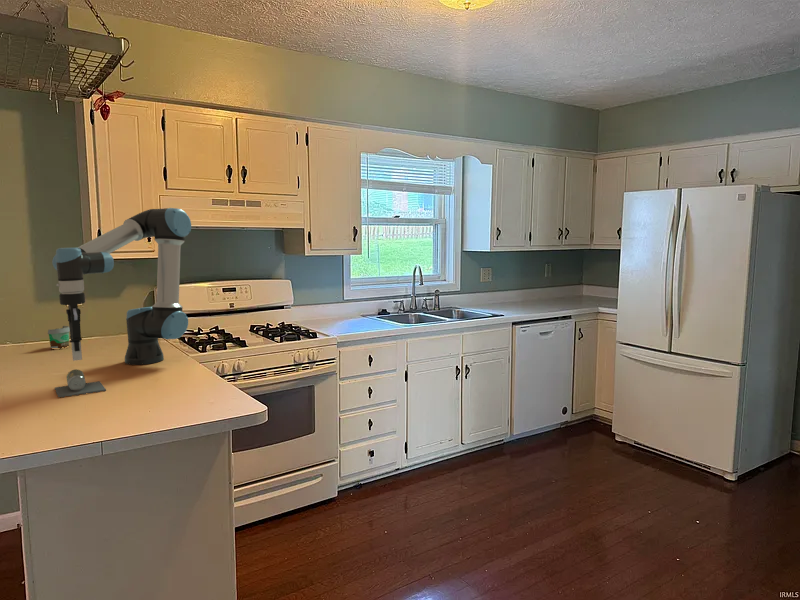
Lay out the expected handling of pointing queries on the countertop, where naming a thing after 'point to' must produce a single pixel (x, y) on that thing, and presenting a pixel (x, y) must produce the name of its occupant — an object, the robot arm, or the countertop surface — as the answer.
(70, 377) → the green soda can
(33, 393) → the countertop surface
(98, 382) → the rubber mat
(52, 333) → the food container
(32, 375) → the countertop surface
